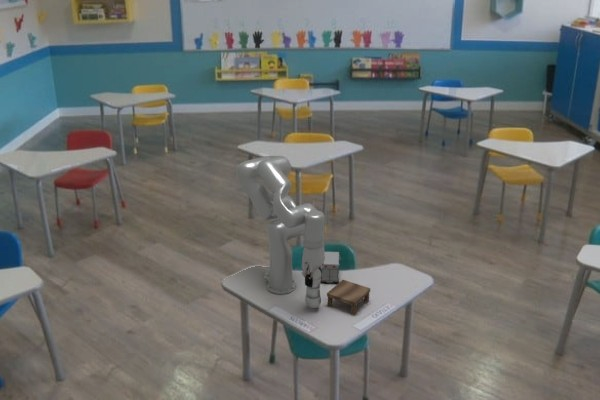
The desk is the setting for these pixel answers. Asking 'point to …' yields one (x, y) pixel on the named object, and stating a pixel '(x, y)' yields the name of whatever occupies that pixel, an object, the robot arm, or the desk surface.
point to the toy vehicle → (331, 267)
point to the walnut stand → (348, 294)
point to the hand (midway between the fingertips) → (313, 281)
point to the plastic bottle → (314, 290)
